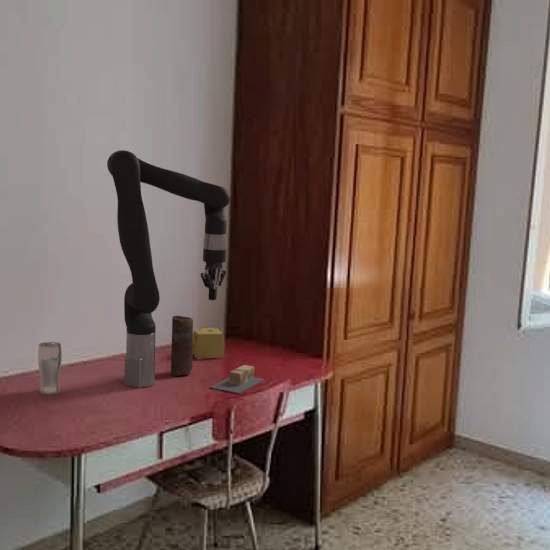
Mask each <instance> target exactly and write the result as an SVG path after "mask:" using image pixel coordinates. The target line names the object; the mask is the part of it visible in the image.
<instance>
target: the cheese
mask: <svg viewBox="0 0 550 550" xmlns="http://www.w3.org/2000/svg"><path fill="white" fill-rule="evenodd" d="M224 352H225V336H224V333H223V331H221V330H220V329H219V328H218V327H202V328H200V329H197V330H196V329H195V330H193V351H192V353H193V354H194V355H195V356H196V357H195V356H194V355H193V354H192V355H193V356H194V357H195V359H196V358H197V359H196V360H199V359H198V358H216V359H222V358H221V357H224ZM219 357H220V358H219Z"/></svg>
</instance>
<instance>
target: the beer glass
mask: <svg viewBox="0 0 550 550" xmlns="http://www.w3.org/2000/svg"><path fill="white" fill-rule="evenodd" d="M37 351H38V352H37V365H38V370H39V375H40V387H39V393H40V394H42V395H56V394H58V393H60V392H61V387H60V386H61V385H60V373H61V369H62V358H63V356H62V355H63V353H62V352H63V351H62V343H61V342H56V341H45V342H44V341H43V342H40V343H39V344H38V350H37Z"/></svg>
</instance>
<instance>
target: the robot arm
mask: <svg viewBox="0 0 550 550" xmlns="http://www.w3.org/2000/svg"><path fill="white" fill-rule="evenodd" d="M106 162H107V163H106V167H107V170H108V172H109V174H110V175H111V176H112V179H113V182H114V187H115V192H116V197H117V211H116V213H117V214H116V215H117V216H116V217H117V218H116V219H117V220H116V221H117V232H118V239H119V244H120V247H121V251H122V253H123V256H124V258H125V260H126V263H127V265H128V267H129V271H130V274H131V281H132V283H131V284H129V285H128V286H127V287H126V289H125V293H124V296H123V297H124V301H123V302H124V303H123V304H124V305H123V306H124V307H123V308H124V309H123V310H124V322H125V326H126V339H125V340H126V347H125V350H126V351H125V352H126V353H125V354H126V355H125V356H124V366H123V367H124V371H123V372H124V377H123V378H124V379H123V382H124V383H123V385H124V386H129V387H132V388H138V389H141V388H147V387H151V386H153V385H155V380H156V379H155V375H156V373H155V372H156V367H155V366H156V323H155V321H154V319H153V315H152V313H153V312H155V311H156V310H157V308H158V307H159V303H160V301H161V300H160V298H161V297H160V291H159V288H158V287H159V286H158V284H157V279H156V276H155V271H154V265H153V256H152V248H151V239H150V231H149V224H148V221H147V214H146V209H145V206H144V201H143V196H142V191H141V190H142V188H141V186H142V185H141V184H142V183H143V184H147V185H149V186H152V187H155V188H158V189H159V190H162V191H164V192H167V193H170V194H172V195H175V196H178V197H181V198H184V199H187V200H190V201H196V202H199V203H201V204H203V205H204V206H203V209H204V217H205V220H204V221H205V222H204V234H203V235H204V237H203V243H202V244H203V248H202V251H203V252H202V261H203V262H204V263H205V267H204V272H201V273H200V277H201V280H202V283H203V285H204V287H205V288H208V301H216V300H217V296H218V294H217V293H218V289H219V287H221V286H222V283H223V281H224V279H225V276H226V274H227V270H224V269H223V263H224V264H225V263H226V262H227V261H226V259H227V225H228V224H227V218H226V216H225V208H226V207H228V205H229V204H230V202H231V194H230V192H229V191H228V189H226V188H225V187H223V186H220V185H218V184H213V183H209V182H205V181H203V180H200V179H197V178H196V177H193V176H190V175H188V174H187V175H186V174H184V173H181V172H178V171H174V170H170V169H166V168H162V167H159V166H156V165H153V164H151V163H149V162H146V161H144V160H142V159H140V158H138V157H137V156H136V154H134V152H131V151H129V150H125V149H124V150H121V149H120V150H117V151H114V152H113V153H111V154H110V156H109V157H108V159H107V161H106Z"/></svg>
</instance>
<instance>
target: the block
mask: <svg viewBox="0 0 550 550" xmlns="http://www.w3.org/2000/svg"><path fill="white" fill-rule="evenodd" d="M229 377H230V384H235V385H242V384H244V383H246V382H248V381H249V380H251V379H253V378H254V377H255V366H253V365H252V366H251V365H246V364H243V365H240V366H239V367H237V368H235V369H233V370H231V371H229Z"/></svg>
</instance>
